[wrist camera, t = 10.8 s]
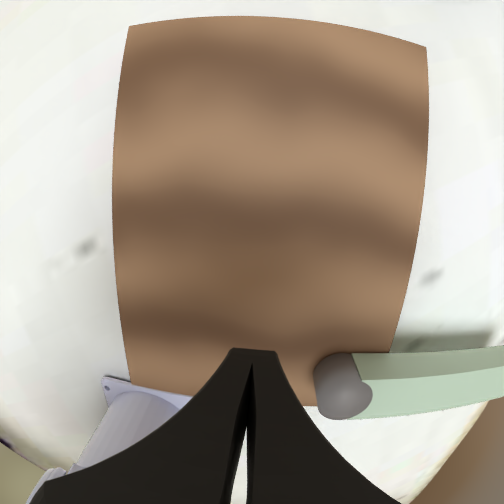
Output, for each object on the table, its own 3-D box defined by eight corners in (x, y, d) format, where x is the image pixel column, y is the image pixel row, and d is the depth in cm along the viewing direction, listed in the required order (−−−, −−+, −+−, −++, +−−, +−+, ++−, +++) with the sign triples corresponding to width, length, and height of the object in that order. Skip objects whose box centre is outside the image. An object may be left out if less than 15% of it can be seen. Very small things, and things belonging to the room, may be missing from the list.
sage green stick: (308, 391, 17) (312, 420, 14) (317, 352, 16) (324, 380, 14) (497, 376, 16) (511, 393, 14) (512, 344, 15) (529, 360, 13)
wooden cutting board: (361, 382, 20) (369, 404, 17) (143, 364, 20) (131, 384, 18) (408, 59, 14) (426, 47, 11) (145, 40, 14) (128, 26, 12)
